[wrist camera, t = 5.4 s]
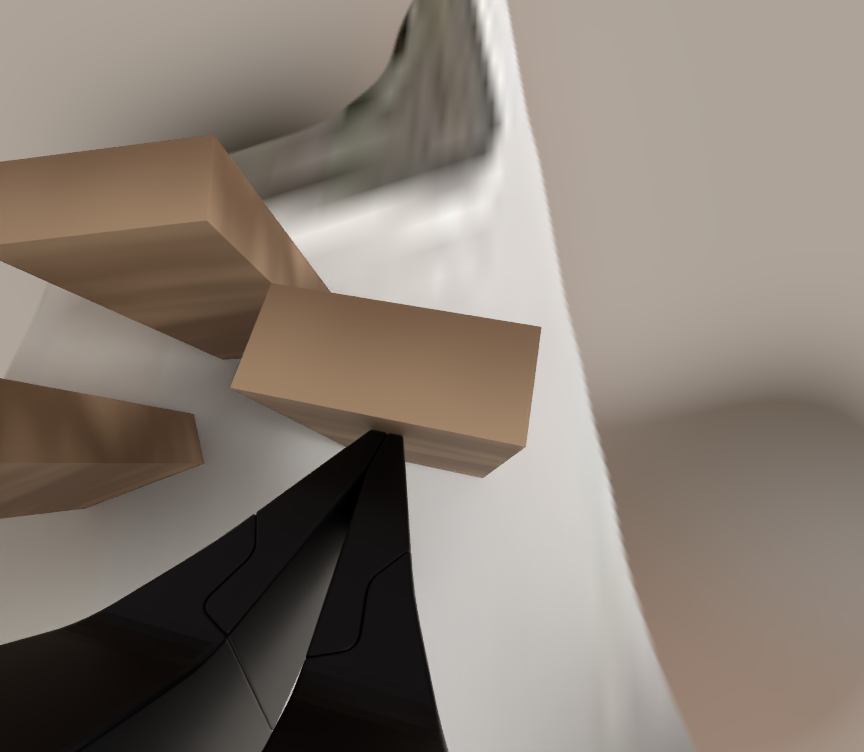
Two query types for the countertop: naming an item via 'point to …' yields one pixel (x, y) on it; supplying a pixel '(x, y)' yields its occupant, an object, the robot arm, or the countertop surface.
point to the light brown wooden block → (152, 237)
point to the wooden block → (394, 375)
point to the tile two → (84, 448)
